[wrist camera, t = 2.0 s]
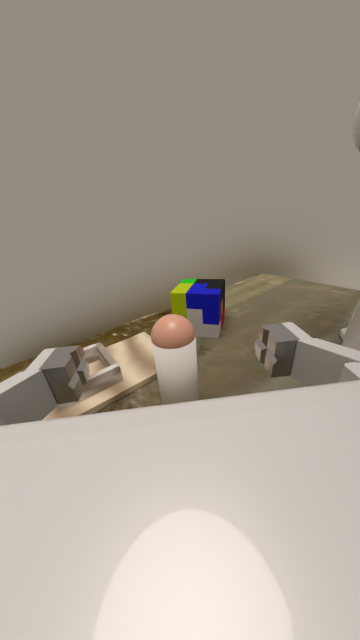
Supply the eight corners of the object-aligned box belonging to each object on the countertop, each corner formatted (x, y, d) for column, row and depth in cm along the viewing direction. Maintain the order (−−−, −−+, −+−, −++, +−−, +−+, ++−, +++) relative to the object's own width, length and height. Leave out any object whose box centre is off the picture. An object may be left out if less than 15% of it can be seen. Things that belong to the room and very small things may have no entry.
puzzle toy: (218, 338, 45) (218, 294, 40) (174, 334, 48) (170, 293, 43) (224, 318, 53) (225, 279, 49) (186, 315, 56) (183, 279, 52)
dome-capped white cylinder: (192, 392, 32) (186, 304, 25) (205, 420, 27) (200, 321, 21) (160, 401, 31) (145, 311, 24) (167, 431, 26) (151, 331, 20)
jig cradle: (144, 335, 48) (142, 320, 47) (182, 363, 38) (180, 345, 36) (35, 381, 37) (26, 363, 35) (46, 439, 27) (34, 418, 25)
